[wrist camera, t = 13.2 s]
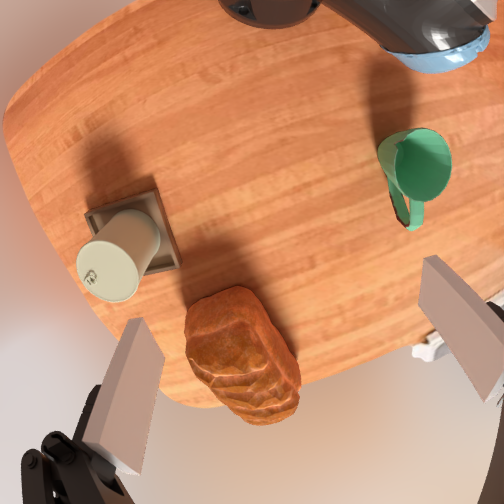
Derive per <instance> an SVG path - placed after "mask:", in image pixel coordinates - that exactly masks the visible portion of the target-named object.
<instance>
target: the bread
mask: <svg viewBox="0 0 504 504" xmlns="http://www.w3.org/2000/svg"><path fill="white" fill-rule="evenodd" d="M184 334H185V337H186V341H187V342H186V351H185V352H186V356H187V358H188V361H189V363H190V365H191V368H192V370H193V372H194V374H195V375H196V377H197V378H198V379H199V380H200V381H202V382H203V383H204V384H205V385H207V386H208V387H209V388H210V389H211V391H212V392H213V393H214V395H215V396H216V397H217V398H218V399H219V400H220V401H221V402H222V403H223V404H225V405H227V406H228V407H229V408H230V410H231V411H233V412H234V413H235V414H236V415H238V416H240V417H241V418H242V419H243V420H244V421H245V422H247V423H249V424H252V425H269V424H273V423H277V422H280V421H282V420H284V419H285V418H287V417H289V416H291V415H292V414H294V412H295V410H296V409H297V406H298V403H299V399H300V396H299V394H298V391H299V390H300V388H301V375H300V370H299V365H298V363H297V361H296V359H295V358H294V356H293V355H292V354H291V353H290V351H289V350H288V347H287V345H286V343H285V341H284V339H283V337H282V336H281V334H280V333H279V331H278V330H277V328H276V327H274V326H273V325H272V324H271V321H270V318H269V316H268V314H267V312H266V311H265V309H264V307H263V305H262V304H261V302H260V301H259V300H258V298H257V297H256V296H255V295H254V293H253V292H252V291H251V290H249V289H247V288H244V287H241V286H235V287H232V288H229V289H226V290H223V291H221V292H219V293H216V294H214V295H212V296H210V297H206V298H202V299H200V300H199V301H197V302H196V303H195V304H193V305H192V306H191V307H190V308H189V310H188V312H187V314H186V319H185V330H184Z"/></svg>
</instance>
